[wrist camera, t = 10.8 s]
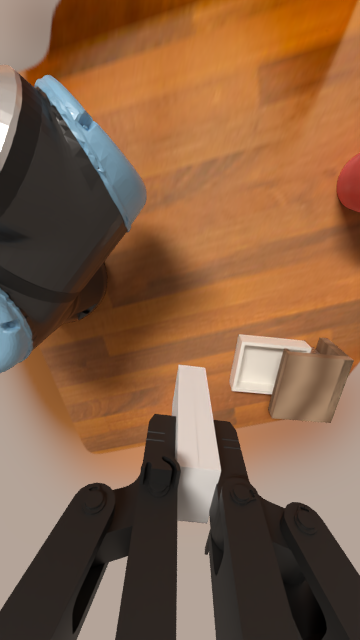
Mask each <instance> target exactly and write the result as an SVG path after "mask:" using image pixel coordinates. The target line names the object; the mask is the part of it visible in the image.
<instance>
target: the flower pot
mask: <svg viewBox="0 0 360 640" xmlns="http://www.w3.org/2000/svg"><path fill="white" fill-rule="evenodd" d="M337 194H338V197H339V200H340V201H341V203H342V204H343V205H344V206H345V207H347V208H349V209H351V210H354V211H357V212H360V153H359V154H357V155H356V156H354V157H353V158H352V159H351V160H349V161H348V163H347V164H346V165H345V166H344V168H343V169H342V171H341V173H340V175H339V178H338V182H337Z"/></svg>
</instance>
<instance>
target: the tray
mask: <svg viewBox="0 0 360 640" xmlns="http://www.w3.org/2000/svg"><path fill="white" fill-rule="evenodd" d="M284 348H287V349H288V350H289V351H290V352H302V353H310V352H311V349H312V348H311V347H310V346H309V345H308V344H307V343H306V342H305V341H303V340H293V339H282V338H272V337H262V336H251V335H241V334H239V335H238V340H237V345H236V350H235V355H234V360H233V365H232V371H231V376H230V381H229V382H230V385H231V389H232V391H240V392H251V393H262V394H272V392H273V388H274V385H275V381H276V377H277V373H278V369H279V365H280V361H281V358H282V354H283V350H284Z"/></svg>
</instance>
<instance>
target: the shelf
mask: <svg viewBox="0 0 360 640" xmlns="http://www.w3.org/2000/svg"><path fill="white" fill-rule="evenodd" d="M316 350H317V351H318V352H319V353H320V354H313V353H302V352H290V351H289V350H288V349H287V348H284V350H283V354H282V358H281V361H280V365H279V369H278V373H277V377H276V381H275V385H274V388H273V392H272V396H271V400H270V404H269V408H268V410H269V413H270V415H271V417H272V418H276V419H289V420H301V421H314V422H326V423H331V420H332V418H333V415H334V412H335V410H336V407H337V404H338V402H339V399H340V396H341V394H342V391H343V388H344V386H345V383H346V380H347V377H348V375H349V372H350V369H351V367H352V364H353V361H354V360H353V359H351V358H350V357H349V356H348V355H347V354H345V353H344V352H343V351H342V350H341V349H339V348H338V347H337V346H336V345H335V344H334V343H332V342H331V341H330V340H329V339H328V338H319V341H318V345H317V348H316Z"/></svg>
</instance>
